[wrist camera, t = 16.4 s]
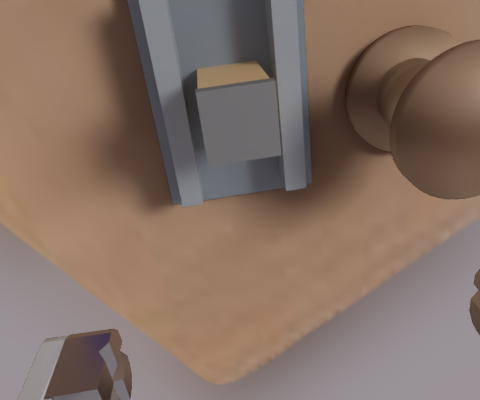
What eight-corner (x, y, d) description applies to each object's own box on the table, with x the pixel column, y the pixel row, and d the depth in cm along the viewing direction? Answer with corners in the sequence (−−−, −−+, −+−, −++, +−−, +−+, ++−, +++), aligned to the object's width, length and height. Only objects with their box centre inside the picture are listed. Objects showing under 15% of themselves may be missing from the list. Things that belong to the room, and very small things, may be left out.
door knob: (344, 35, 29) (401, 55, 21) (471, 16, 29) (574, 29, 21) (345, 155, 33) (392, 209, 25) (455, 138, 33) (537, 187, 25)
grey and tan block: (195, 67, 28) (195, 92, 22) (257, 58, 28) (275, 80, 22) (205, 127, 30) (208, 166, 24) (263, 119, 30) (281, 155, 24)
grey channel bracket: (123, -27, 26) (113, -29, 23) (297, -51, 26) (311, -56, 23) (173, 199, 33) (171, 221, 30) (309, 178, 34) (320, 197, 31)
